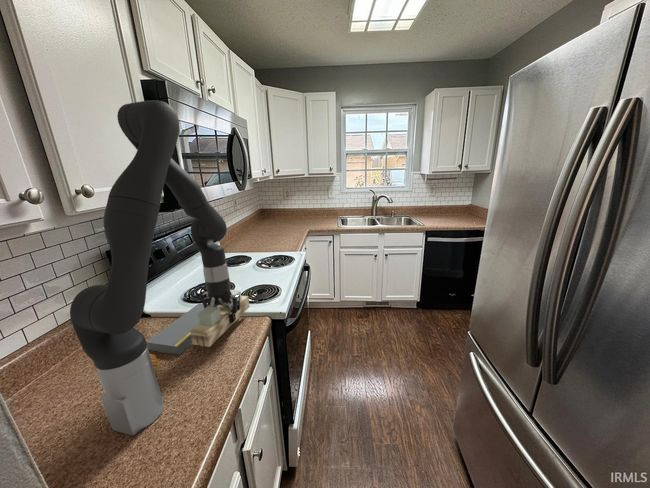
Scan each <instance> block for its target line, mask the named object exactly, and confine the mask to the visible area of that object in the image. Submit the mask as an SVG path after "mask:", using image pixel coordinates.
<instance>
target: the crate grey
mask: <svg viewBox="0 0 650 488" xmlns="http://www.w3.org/2000/svg"><path fill="white" fill-rule="evenodd" d="M230 291H231V293H232V295H237V294H239V295H240V301H242V299H241V296H242V294H241V290H238V289H237V290H236V289H230ZM231 300H232V299H231ZM228 304H229V303H227V305H228Z"/></svg>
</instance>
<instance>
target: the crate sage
mask: <svg viewBox="0 0 650 488" xmlns="http://www.w3.org/2000/svg"><path fill="white" fill-rule="evenodd" d="M198 316H199V321H200V325H206V326H213V325H215V324H216V323H217V322H218V321H219V320H220V319H221V314H220V308H218V307H209V306H207V307H206V308H205V309H203V310H202V311H201V312H200V313H198Z"/></svg>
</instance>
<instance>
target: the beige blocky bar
mask: <svg viewBox="0 0 650 488" xmlns="http://www.w3.org/2000/svg"><path fill="white" fill-rule="evenodd" d="M241 299H242V301H240V310H238V311H237V312H236V313H235V315H236V320H235V321H234V322H233V323H232V324H231V323H230V321H229V315H228V314H229V313H228V311H227V310H226V309H224V307H223V306H220V307H219V308H220V314H221V319H220V320H219V321H218V322H217V323H216V324H215V325H213V326H206V325H200V324H198V325H197V326H196V327H195V328H193V329H192V330H191V331H190V333H191V338H192V342H193V343H192V345H196V346H201V347H203V346H205V347H208V348H209V347H211V346H212V345H213V344H214V343H216V341H217V340H218V339H220V337H222V335H223V334H224V333H225V332H226V331H228V329H230V327H231V326H232V325H233V324H234V323H235V322H236V321H237V320H238V319H239V318H241V316H242V315H243V314H244V313H246V311H247V310H248V309H249V308H250V298H249V296H248V295H241ZM230 309H231V308H230Z"/></svg>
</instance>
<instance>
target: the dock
mask: <svg viewBox="0 0 650 488" xmlns="http://www.w3.org/2000/svg"><path fill="white" fill-rule="evenodd" d="M207 305H208V304H207ZM220 306H221V305H217V307H218V308H219V307H220ZM203 309H204V306H203V302H201V303H200V302H199V303H197V304H196V305H195V306H194V307H192V308H191V309H189V310H188V311H186V312H185V313H184V314H183V315H181V316H179V317H178V318H177V319H175V320H174V321H173V322H171V323H170V324H169V325H167V326H166V327H164V328H163V329H162V330H160V331H159V332H158V333H157V334H155V335H154V336H152V337H151V338H150V339H148V340H146V343H147V347H148V350H149V351H153V352H159V353H165V354H170V355H171V354H172V355H177V356H179V355H180V354H181V353H183V352H185V350H186V349H187V348H188V347H190V345H193V342H192V338H191V333H190V331H191V330H192V329H193V328H195V327H196V326H197V325H198V324H200V321H199V316H198V313H200V312H201V311H202V310H203Z"/></svg>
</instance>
